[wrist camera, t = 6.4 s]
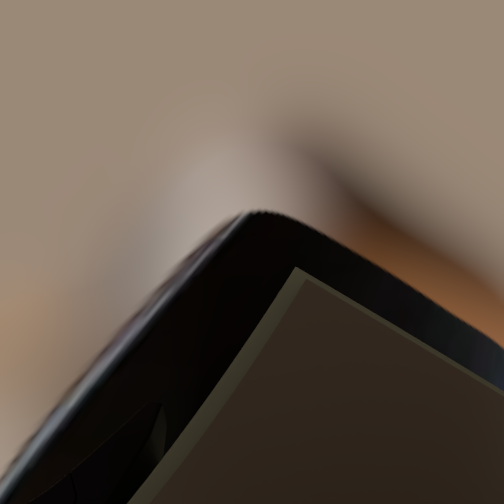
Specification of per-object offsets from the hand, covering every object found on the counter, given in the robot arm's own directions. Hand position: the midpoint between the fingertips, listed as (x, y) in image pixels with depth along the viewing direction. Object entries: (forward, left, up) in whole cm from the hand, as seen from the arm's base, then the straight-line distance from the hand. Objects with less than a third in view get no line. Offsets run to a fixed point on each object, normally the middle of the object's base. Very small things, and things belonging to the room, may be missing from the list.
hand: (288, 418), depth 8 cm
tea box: (-1, +1, -7) cm, 7 cm away
